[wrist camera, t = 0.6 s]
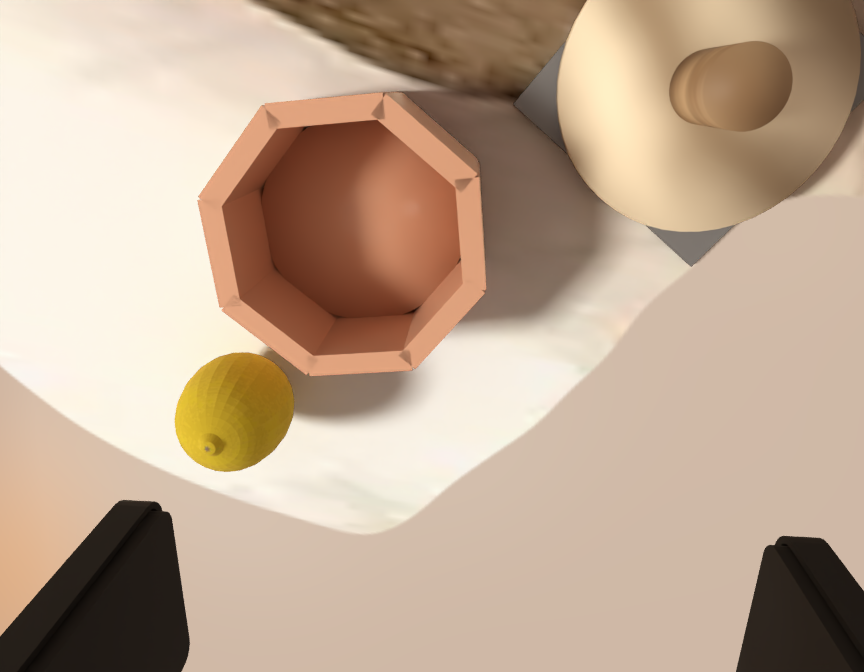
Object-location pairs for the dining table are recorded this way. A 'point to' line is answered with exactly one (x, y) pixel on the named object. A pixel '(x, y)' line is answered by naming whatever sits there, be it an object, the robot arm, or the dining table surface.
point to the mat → (543, 113)
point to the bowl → (346, 232)
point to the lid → (704, 103)
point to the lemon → (234, 412)
